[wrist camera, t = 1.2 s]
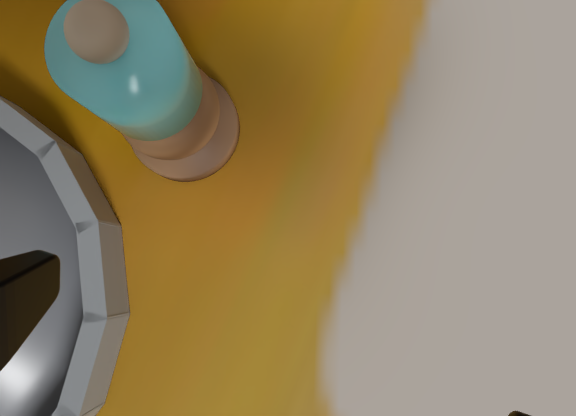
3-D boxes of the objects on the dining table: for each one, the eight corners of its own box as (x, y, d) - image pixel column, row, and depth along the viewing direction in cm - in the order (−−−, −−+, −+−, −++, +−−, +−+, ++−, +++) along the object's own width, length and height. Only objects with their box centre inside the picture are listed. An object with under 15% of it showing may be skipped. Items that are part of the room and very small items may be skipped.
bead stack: (166, 201, 24) (42, 143, 13) (117, 113, 25) (-39, -10, 14) (259, 146, 24) (210, 43, 13) (206, 60, 25) (120, -104, 14)
